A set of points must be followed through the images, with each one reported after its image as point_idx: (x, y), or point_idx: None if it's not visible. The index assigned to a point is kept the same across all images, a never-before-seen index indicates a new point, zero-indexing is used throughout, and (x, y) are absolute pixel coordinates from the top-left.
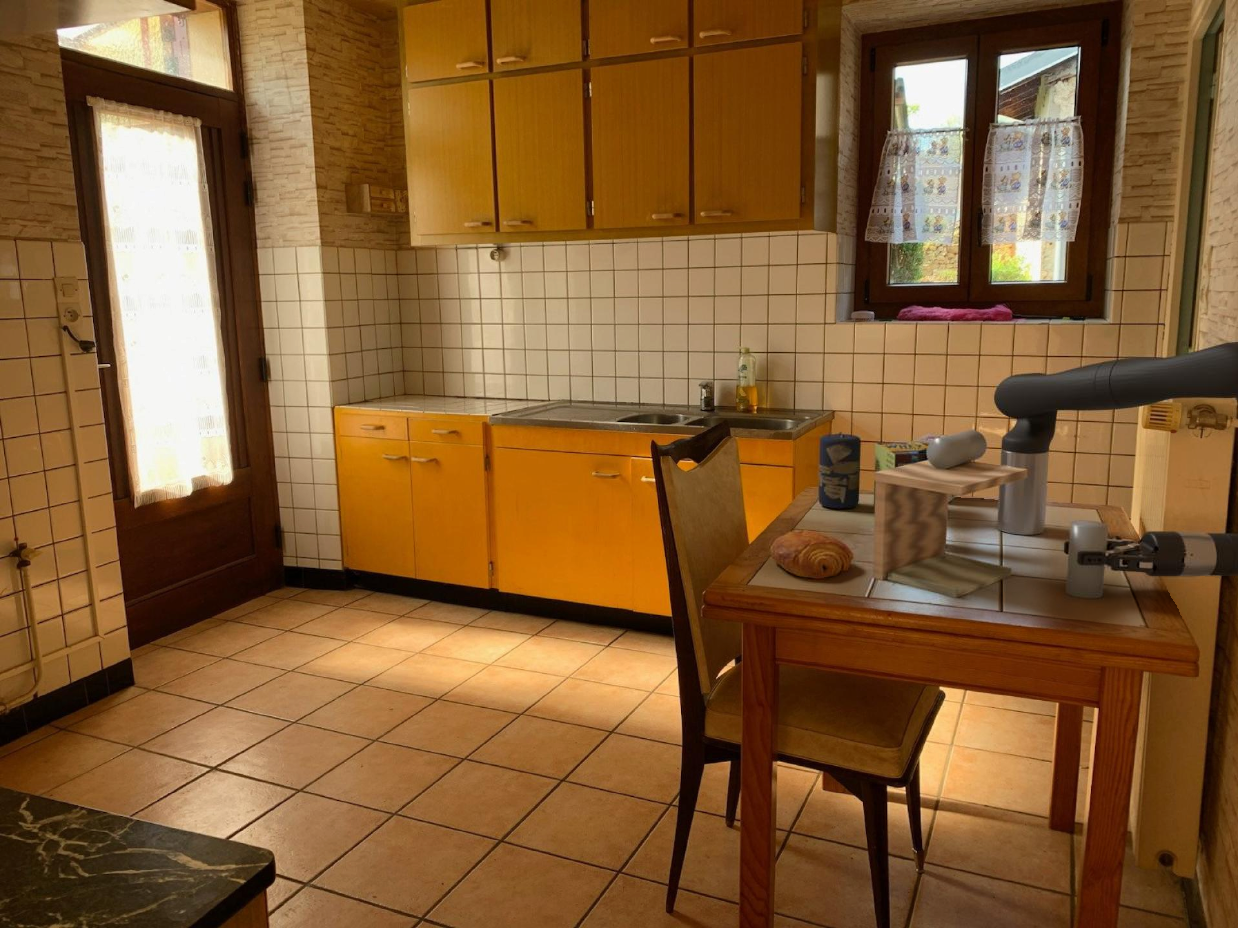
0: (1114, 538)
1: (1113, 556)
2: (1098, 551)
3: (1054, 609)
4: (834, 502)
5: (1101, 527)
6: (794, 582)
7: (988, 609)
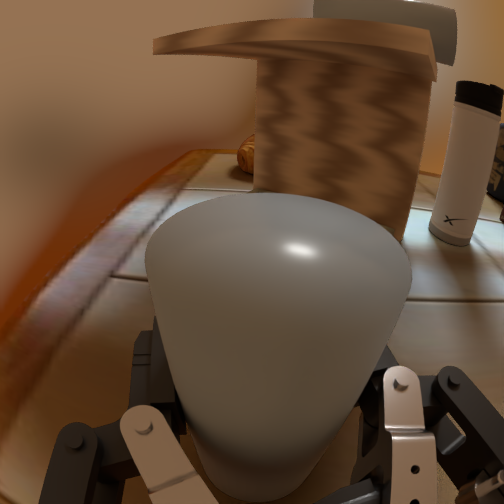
0: (501, 476)
1: (70, 425)
2: (171, 388)
3: (108, 352)
4: (489, 187)
5: (181, 285)
6: (226, 164)
7: (122, 264)
